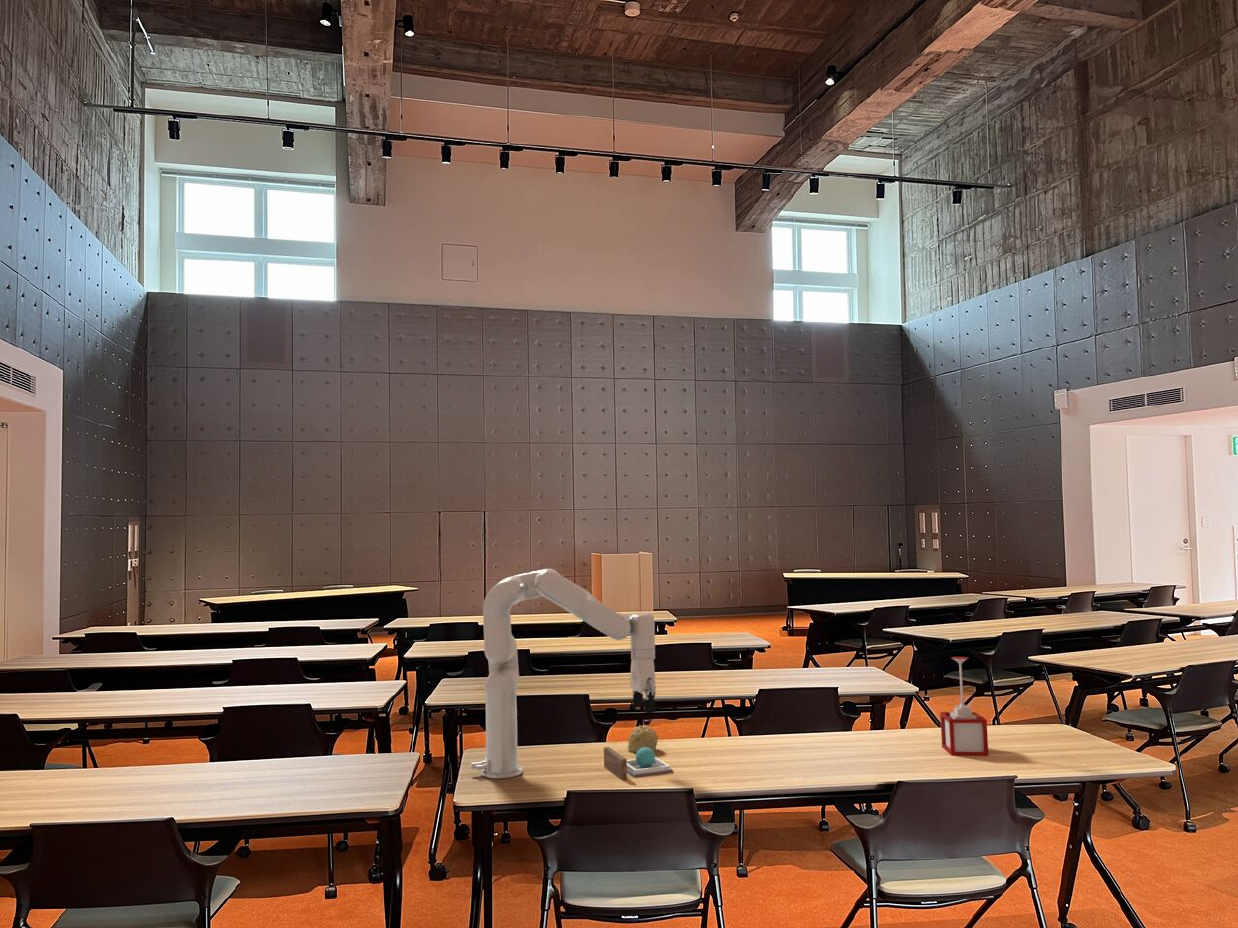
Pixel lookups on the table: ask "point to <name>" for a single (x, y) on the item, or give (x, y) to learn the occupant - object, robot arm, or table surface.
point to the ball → (645, 757)
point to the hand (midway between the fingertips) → (643, 709)
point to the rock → (642, 739)
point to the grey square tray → (656, 768)
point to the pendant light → (963, 728)
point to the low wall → (615, 763)
